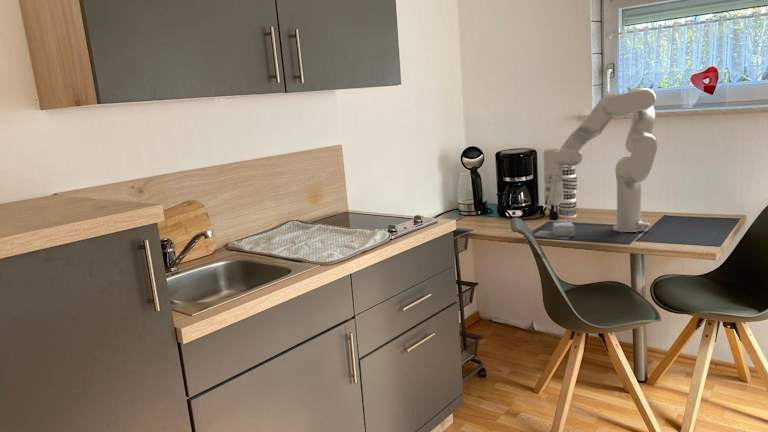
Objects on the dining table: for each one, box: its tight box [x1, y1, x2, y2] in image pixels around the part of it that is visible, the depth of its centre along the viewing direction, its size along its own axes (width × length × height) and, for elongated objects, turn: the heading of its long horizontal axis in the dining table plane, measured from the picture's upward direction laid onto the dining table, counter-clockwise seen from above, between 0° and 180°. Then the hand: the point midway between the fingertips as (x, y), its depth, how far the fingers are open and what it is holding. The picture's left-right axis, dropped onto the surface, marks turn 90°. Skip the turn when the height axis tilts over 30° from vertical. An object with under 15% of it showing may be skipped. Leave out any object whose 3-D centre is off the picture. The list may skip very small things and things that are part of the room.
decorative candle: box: [558, 166, 578, 219], centre depth 294 cm, size 9×9×25 cm
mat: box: [533, 230, 573, 241], centre depth 264 cm, size 16×9×1 cm, turn 50°
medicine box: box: [552, 221, 576, 237], centre depth 263 cm, size 8×4×9 cm
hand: (553, 219), depth 264 cm, fingers closed
